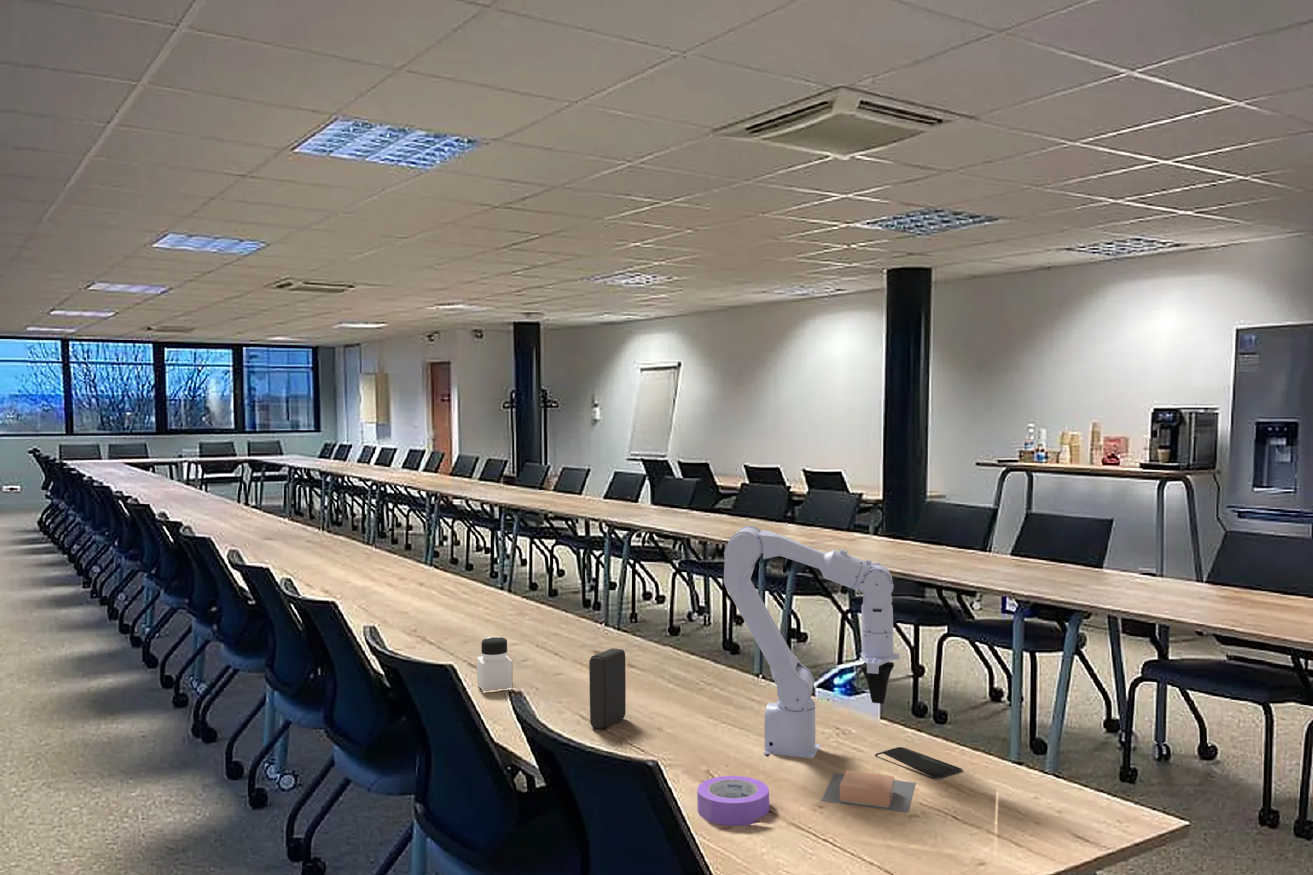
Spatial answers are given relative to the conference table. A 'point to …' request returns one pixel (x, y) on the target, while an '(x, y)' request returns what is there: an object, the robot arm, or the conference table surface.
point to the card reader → (607, 688)
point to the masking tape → (733, 800)
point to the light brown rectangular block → (867, 788)
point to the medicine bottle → (494, 665)
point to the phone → (921, 763)
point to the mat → (898, 803)
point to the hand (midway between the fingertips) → (878, 702)
